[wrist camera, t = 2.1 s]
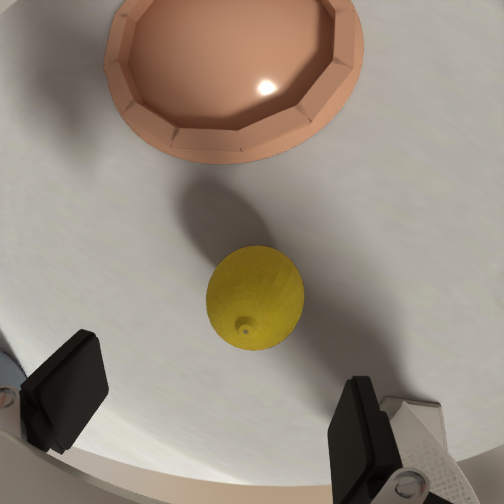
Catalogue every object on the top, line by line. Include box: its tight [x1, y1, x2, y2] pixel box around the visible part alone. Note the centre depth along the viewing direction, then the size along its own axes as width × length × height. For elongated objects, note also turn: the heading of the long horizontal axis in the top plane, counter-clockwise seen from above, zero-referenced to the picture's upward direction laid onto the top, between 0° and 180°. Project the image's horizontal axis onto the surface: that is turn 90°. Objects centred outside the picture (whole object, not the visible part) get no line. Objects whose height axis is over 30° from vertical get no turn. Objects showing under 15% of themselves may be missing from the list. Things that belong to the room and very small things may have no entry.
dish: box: [103, 0, 364, 164], centre depth 16 cm, size 18×18×2 cm
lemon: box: [206, 246, 305, 351], centre depth 17 cm, size 6×6×8 cm
